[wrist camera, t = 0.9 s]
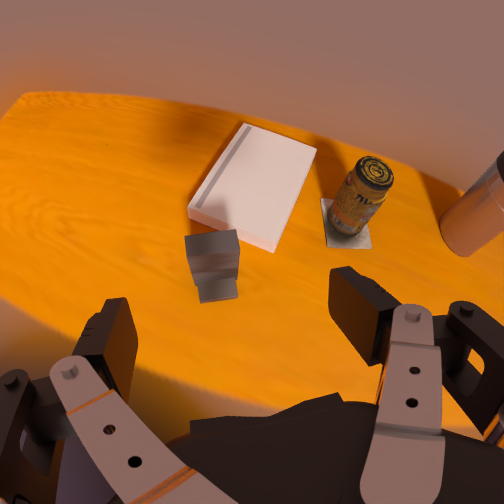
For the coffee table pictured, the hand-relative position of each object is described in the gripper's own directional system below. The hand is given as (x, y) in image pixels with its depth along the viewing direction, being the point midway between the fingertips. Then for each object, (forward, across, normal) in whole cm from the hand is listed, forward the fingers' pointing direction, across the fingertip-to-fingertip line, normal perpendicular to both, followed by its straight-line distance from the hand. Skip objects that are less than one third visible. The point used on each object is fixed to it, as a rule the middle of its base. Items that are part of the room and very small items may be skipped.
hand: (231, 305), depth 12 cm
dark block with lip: (+26, 0, +11) cm, 29 cm away
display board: (+36, -8, +1) cm, 37 cm away
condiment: (+31, -21, +7) cm, 38 cm away
